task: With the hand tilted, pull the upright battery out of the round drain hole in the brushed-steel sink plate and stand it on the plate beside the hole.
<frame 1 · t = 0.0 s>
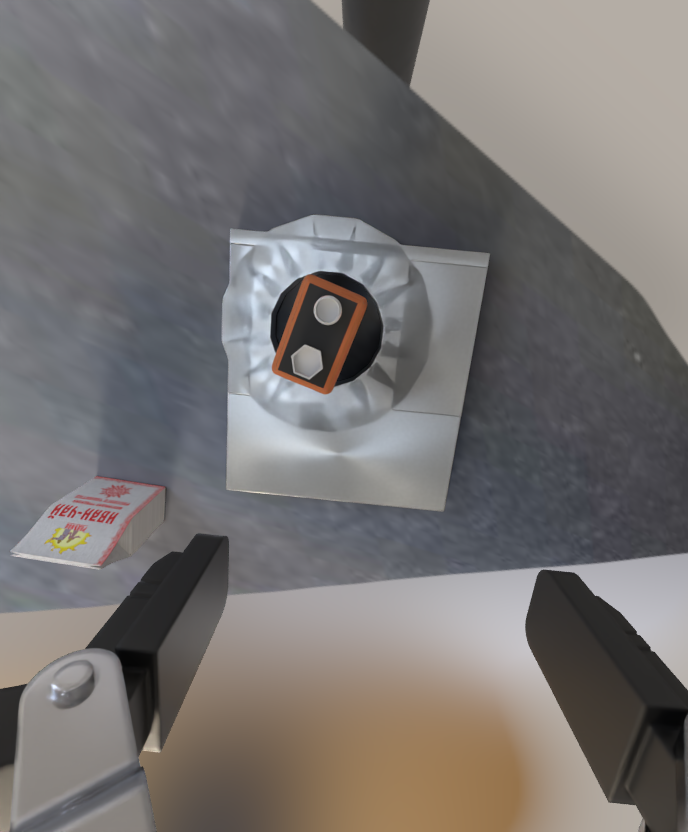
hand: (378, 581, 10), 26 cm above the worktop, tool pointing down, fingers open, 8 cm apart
battery: (328, 329, 34), resting in sink plate
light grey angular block: (131, 497, 39), on the worktop
sink plate: (346, 378, 35), on the worktop
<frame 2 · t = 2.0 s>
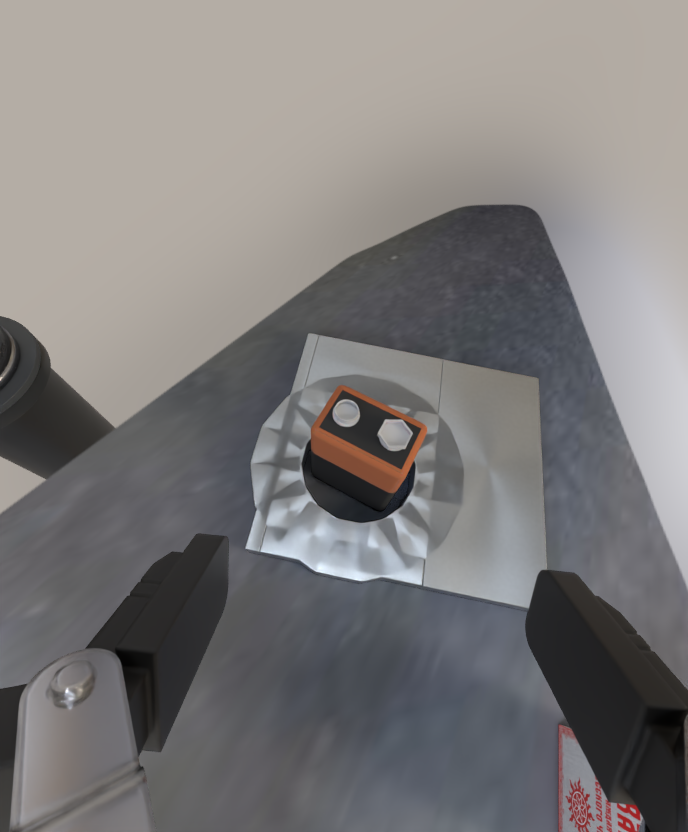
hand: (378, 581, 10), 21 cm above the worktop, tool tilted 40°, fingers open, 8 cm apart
battery: (356, 473, 34), resting in sink plate
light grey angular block: (585, 796, 25), on the worktop
sink plate: (405, 460, 34), on the worktop
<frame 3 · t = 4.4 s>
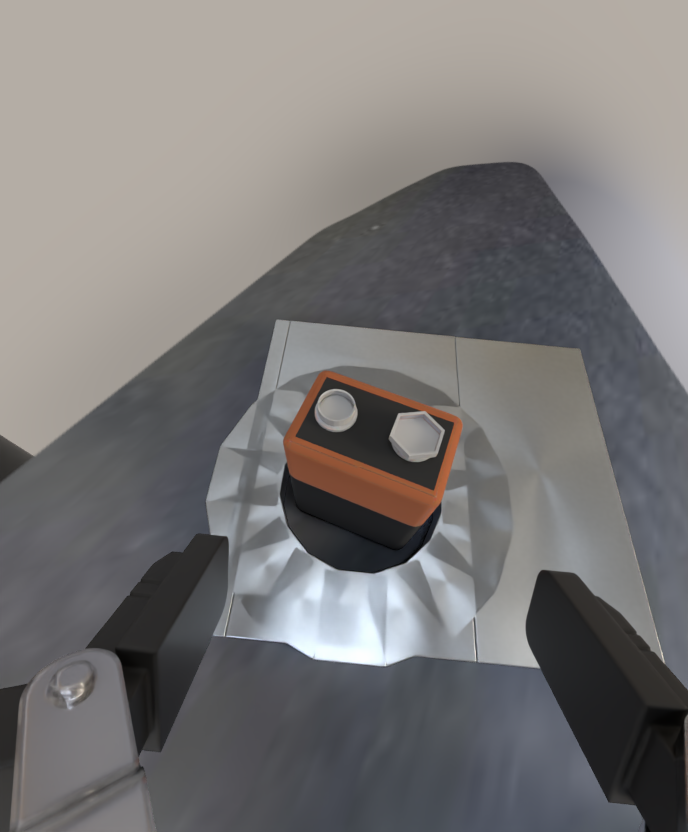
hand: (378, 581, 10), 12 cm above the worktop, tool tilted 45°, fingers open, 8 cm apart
battery: (358, 499, 24), resting in sink plate
sink plate: (423, 473, 25), on the worktop
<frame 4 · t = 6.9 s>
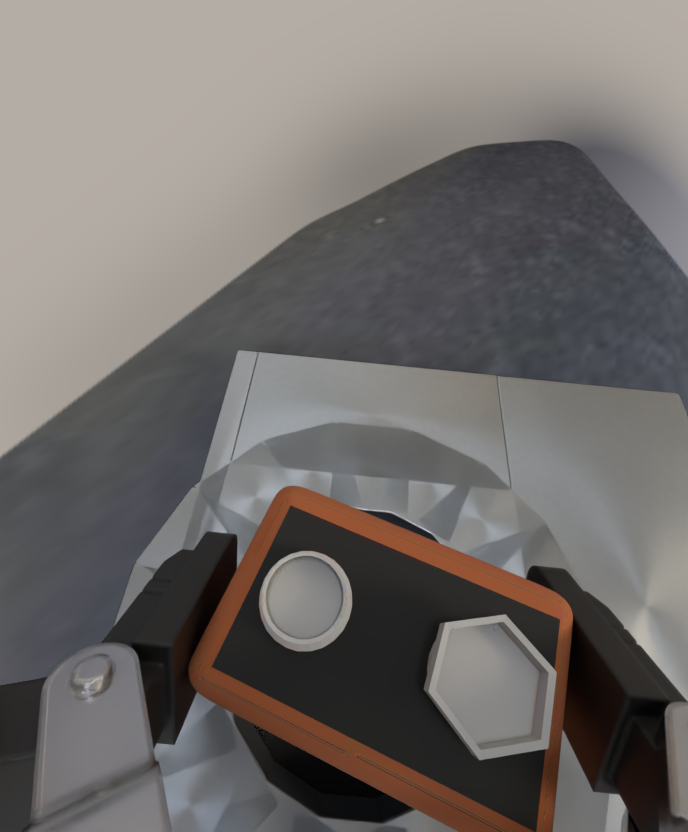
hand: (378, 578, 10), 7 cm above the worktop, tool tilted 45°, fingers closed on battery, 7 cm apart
battery: (356, 639, 15), resting in sink plate, touching gripper
sink plate: (456, 594, 16), on the worktop
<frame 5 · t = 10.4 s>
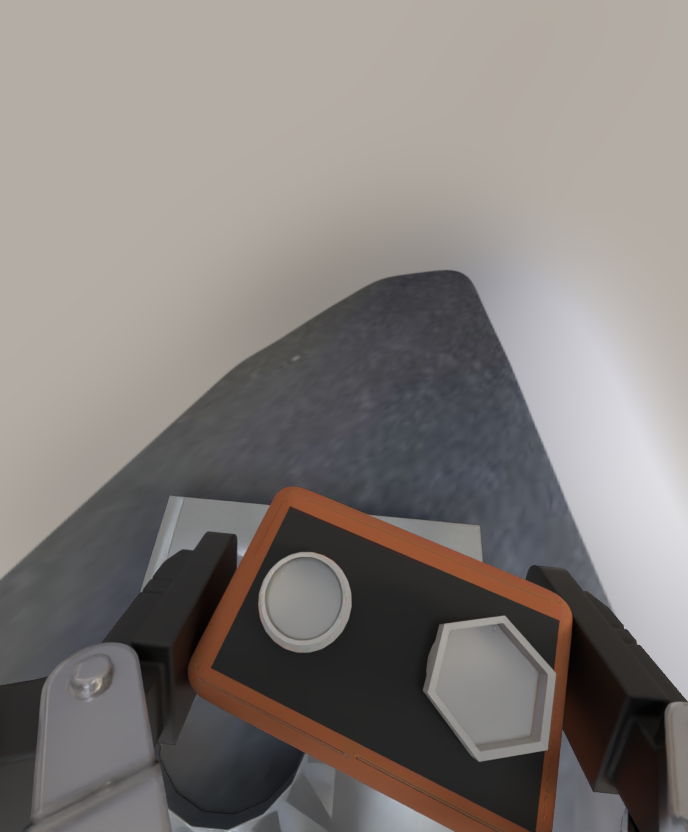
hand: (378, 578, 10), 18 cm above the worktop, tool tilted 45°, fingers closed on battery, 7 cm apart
battery: (356, 640, 15), point 12 cm above the worktop, touching gripper
sink plate: (307, 676, 25), on the worktop
when the fingers open (9 cm above the worktop, at t = 14.3 s): battery stays where it is, resting on sink plate.
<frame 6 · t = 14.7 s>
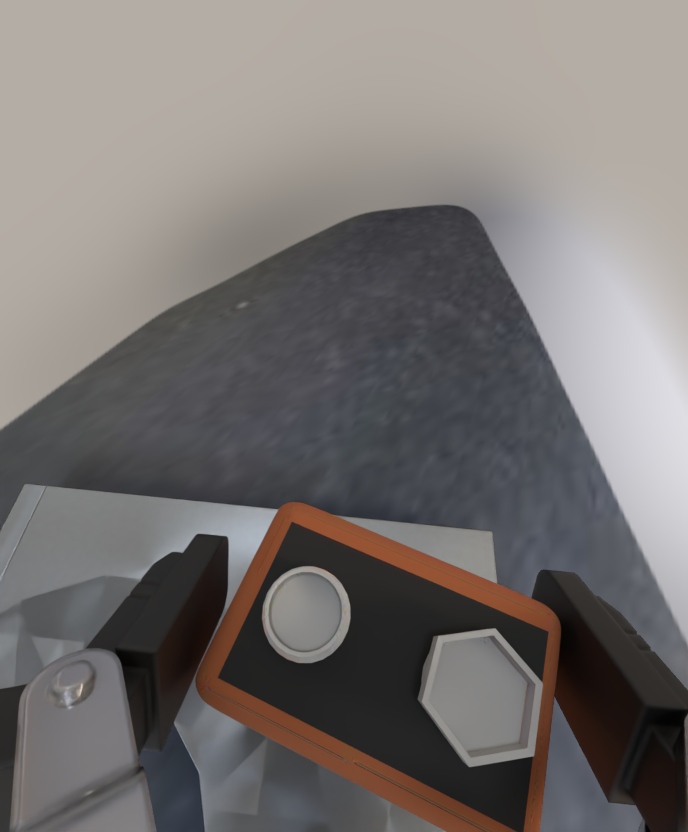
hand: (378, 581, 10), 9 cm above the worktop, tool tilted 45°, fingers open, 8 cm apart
battery: (356, 645, 16), point 2 cm above the worktop, touching sink plate
sink plate: (213, 776, 15), on the worktop
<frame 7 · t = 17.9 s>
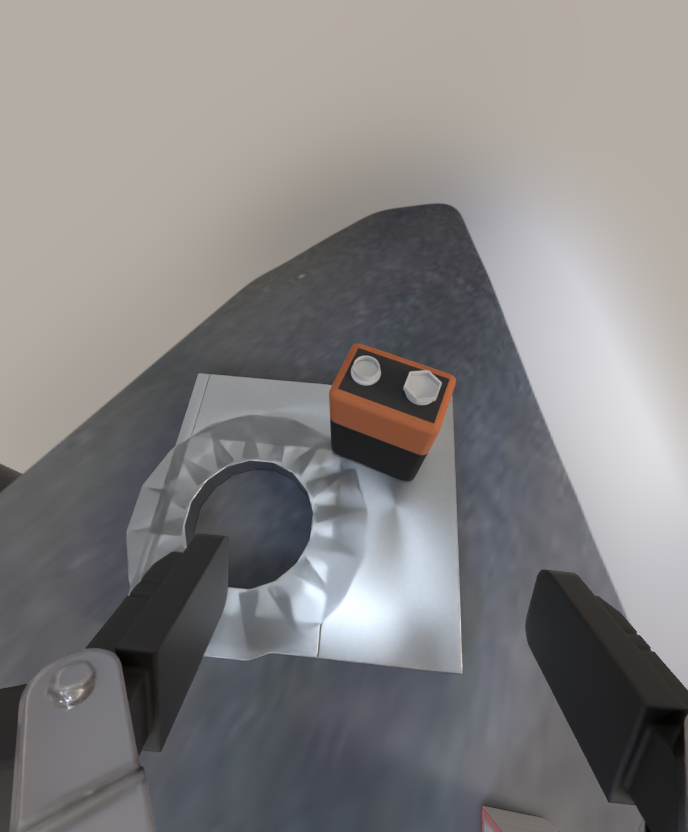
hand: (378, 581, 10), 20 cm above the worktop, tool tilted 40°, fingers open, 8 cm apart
battery: (379, 445, 31), point 2 cm above the worktop, touching sink plate
sink plate: (309, 505, 31), on the worktop
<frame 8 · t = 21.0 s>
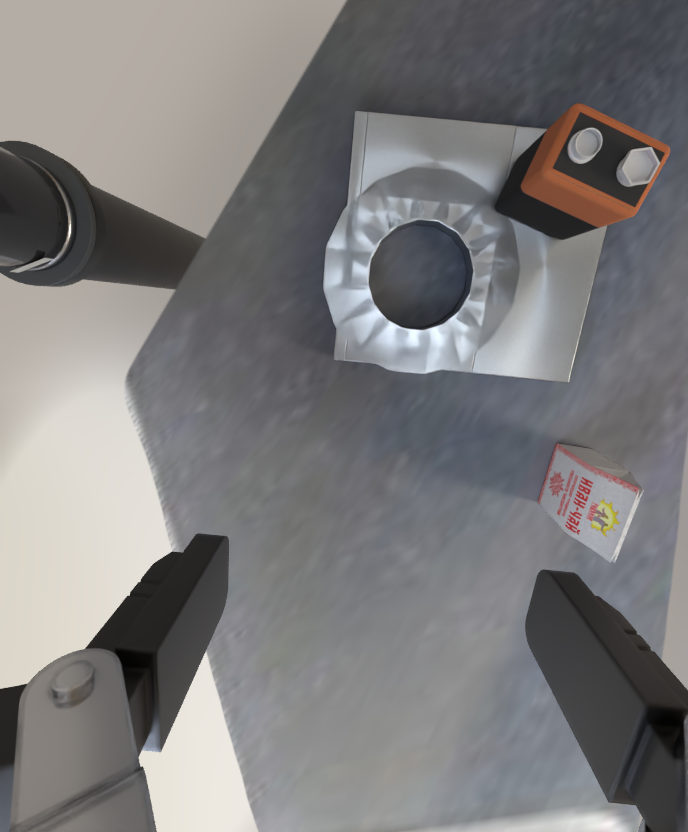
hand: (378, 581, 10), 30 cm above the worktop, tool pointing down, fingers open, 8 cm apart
battery: (539, 200, 33), point 2 cm above the worktop, touching sink plate
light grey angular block: (563, 475, 41), on the worktop
sink plate: (463, 259, 36), on the worktop
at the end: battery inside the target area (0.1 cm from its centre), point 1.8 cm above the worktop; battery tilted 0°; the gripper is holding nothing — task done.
